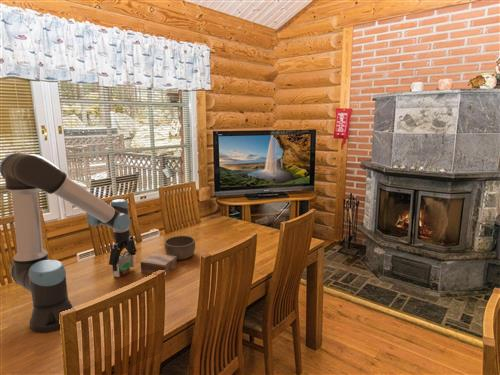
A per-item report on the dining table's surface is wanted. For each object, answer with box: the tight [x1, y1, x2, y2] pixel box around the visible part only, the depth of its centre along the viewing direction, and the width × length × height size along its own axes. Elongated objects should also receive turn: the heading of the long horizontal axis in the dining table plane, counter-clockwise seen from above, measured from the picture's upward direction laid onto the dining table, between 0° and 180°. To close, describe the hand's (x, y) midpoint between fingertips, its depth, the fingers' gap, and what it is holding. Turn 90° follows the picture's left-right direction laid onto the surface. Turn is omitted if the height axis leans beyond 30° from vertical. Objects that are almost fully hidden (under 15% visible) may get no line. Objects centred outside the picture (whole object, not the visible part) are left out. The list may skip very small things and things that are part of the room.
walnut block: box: [140, 252, 178, 276], centre depth 176 cm, size 12×14×6 cm
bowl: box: [164, 235, 196, 261], centre depth 193 cm, size 17×18×10 cm
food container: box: [111, 250, 131, 278], centre depth 170 cm, size 12×6×10 cm, turn 168°
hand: (124, 271), depth 171 cm, fingers closed on food container, 11 cm apart
